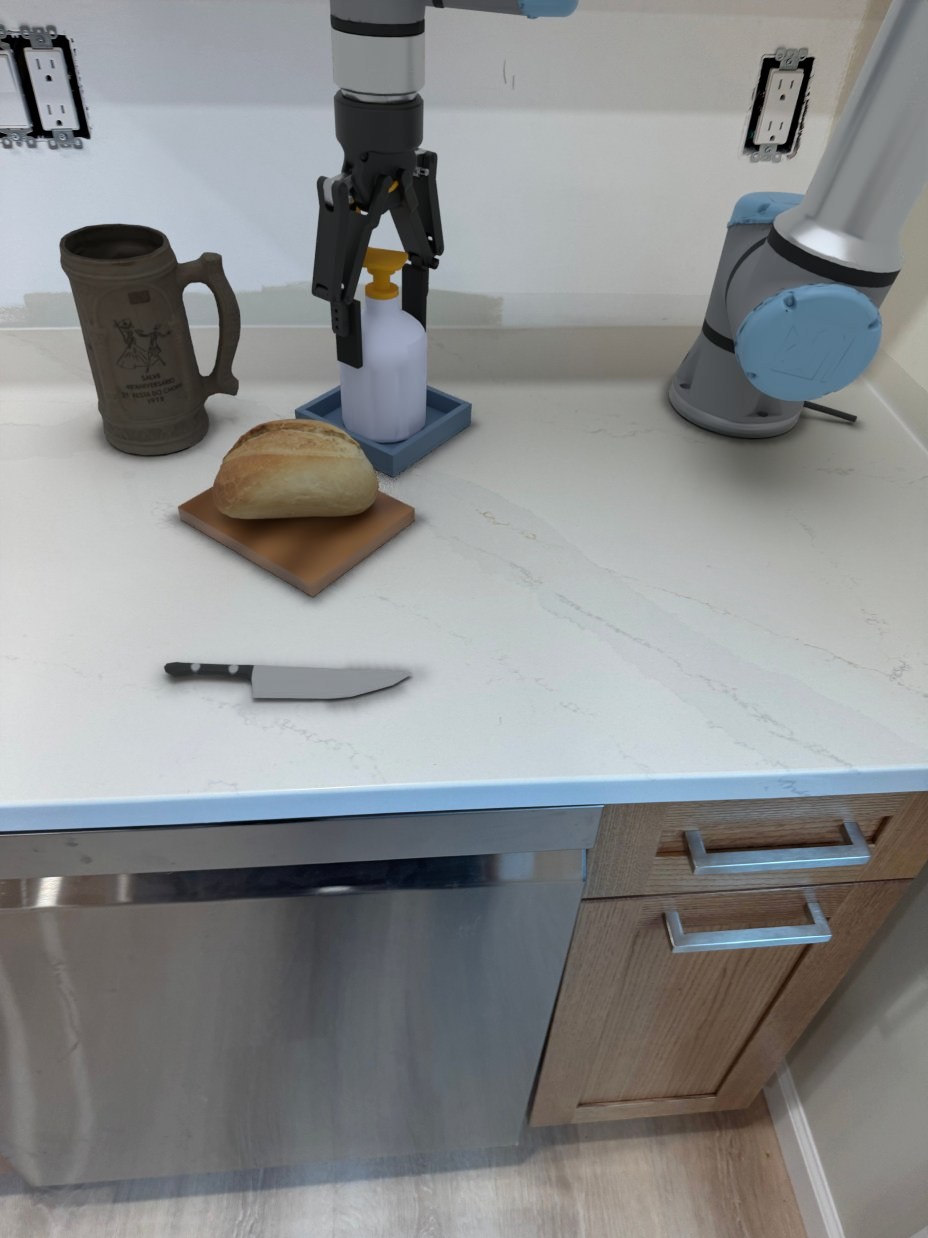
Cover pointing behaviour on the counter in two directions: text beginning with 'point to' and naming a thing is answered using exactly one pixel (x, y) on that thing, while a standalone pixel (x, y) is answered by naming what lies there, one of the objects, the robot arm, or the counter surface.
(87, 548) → the counter surface
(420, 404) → the soap bottle
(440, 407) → the soap tray
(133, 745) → the counter surface
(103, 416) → the beer stein
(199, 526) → the bread board
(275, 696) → the chef's knife
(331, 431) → the bread roll
